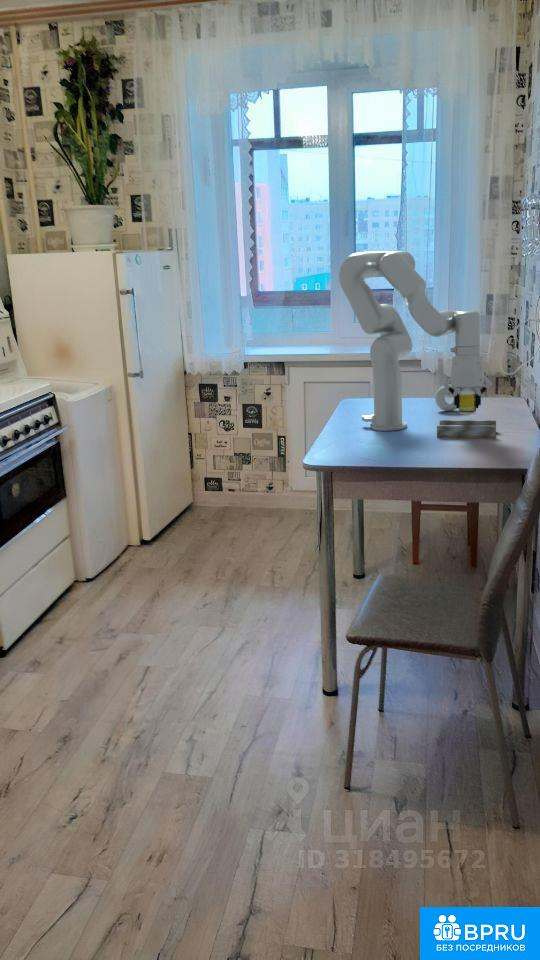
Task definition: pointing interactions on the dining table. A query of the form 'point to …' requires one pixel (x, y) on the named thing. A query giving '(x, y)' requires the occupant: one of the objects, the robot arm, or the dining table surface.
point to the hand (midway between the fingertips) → (467, 406)
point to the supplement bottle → (467, 401)
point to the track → (466, 428)
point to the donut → (441, 401)
